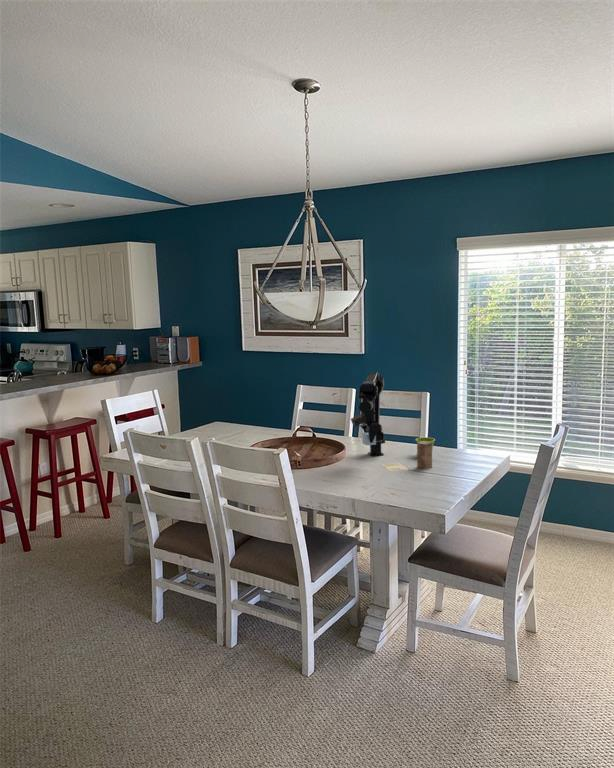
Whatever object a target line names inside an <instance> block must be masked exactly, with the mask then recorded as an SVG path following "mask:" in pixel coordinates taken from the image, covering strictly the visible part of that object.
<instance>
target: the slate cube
mask: <svg viewBox="0 0 614 768" xmlns="http://www.w3.org/2000/svg"><path fill="white" fill-rule="evenodd" d="M362 444H363V445H365V446H370V445H376V436H375V438H374V440H373V442H372V443H370V440H369V434H368V432H367V433H364V432H362Z"/></svg>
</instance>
